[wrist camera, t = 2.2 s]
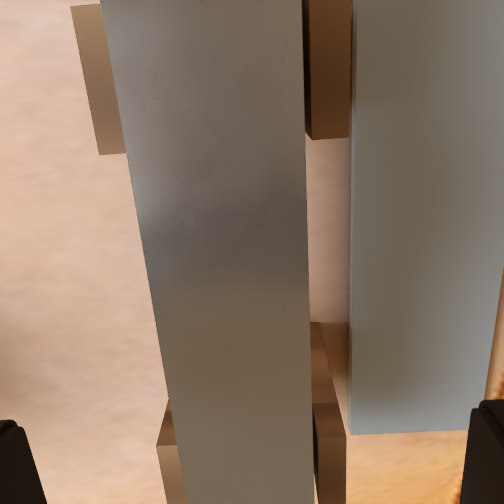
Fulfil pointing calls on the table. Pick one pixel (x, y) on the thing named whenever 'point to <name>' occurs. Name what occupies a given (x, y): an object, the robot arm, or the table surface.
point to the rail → (223, 233)
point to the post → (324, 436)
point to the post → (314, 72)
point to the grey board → (424, 211)
